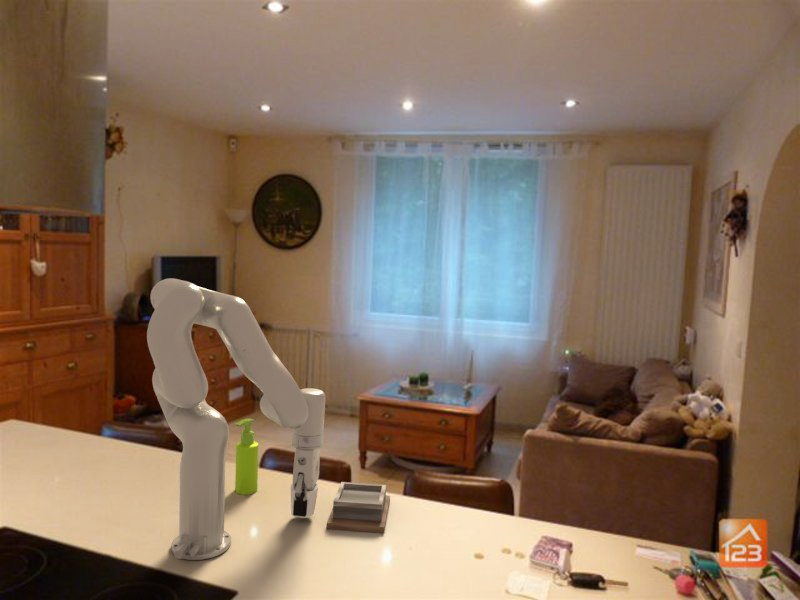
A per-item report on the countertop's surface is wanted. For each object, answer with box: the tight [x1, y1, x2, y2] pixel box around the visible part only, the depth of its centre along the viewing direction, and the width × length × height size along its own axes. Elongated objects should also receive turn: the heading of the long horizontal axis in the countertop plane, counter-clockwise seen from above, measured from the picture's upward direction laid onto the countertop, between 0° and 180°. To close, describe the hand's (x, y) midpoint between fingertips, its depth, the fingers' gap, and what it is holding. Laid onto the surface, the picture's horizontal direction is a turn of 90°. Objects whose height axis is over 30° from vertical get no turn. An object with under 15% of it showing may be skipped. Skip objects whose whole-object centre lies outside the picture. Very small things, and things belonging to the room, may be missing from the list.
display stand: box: [326, 481, 391, 534], centre depth 150 cm, size 18×14×6 cm
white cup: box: [290, 482, 319, 519], centre depth 146 cm, size 7×7×7 cm
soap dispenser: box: [234, 418, 259, 496], centre depth 161 cm, size 6×7×20 cm
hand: (302, 509), depth 147 cm, fingers closed on white cup, 6 cm apart
